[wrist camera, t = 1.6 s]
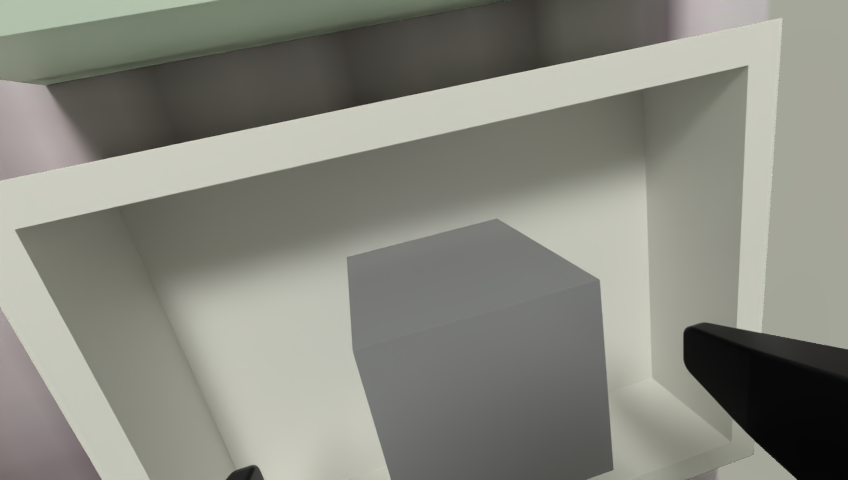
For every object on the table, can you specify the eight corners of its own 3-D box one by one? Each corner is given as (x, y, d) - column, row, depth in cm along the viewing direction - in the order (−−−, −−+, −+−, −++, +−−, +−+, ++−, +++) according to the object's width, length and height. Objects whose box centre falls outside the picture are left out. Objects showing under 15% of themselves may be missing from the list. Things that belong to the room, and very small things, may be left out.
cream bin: (655, 376, 16) (753, 454, 12) (242, 513, 14) (207, 658, 10) (646, 50, 12) (782, 17, 9) (82, 168, 10) (-66, 194, 6)
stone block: (516, 347, 13) (613, 470, 9) (383, 388, 13) (409, 543, 8) (496, 218, 12) (599, 279, 7) (346, 257, 11) (352, 351, 7)
